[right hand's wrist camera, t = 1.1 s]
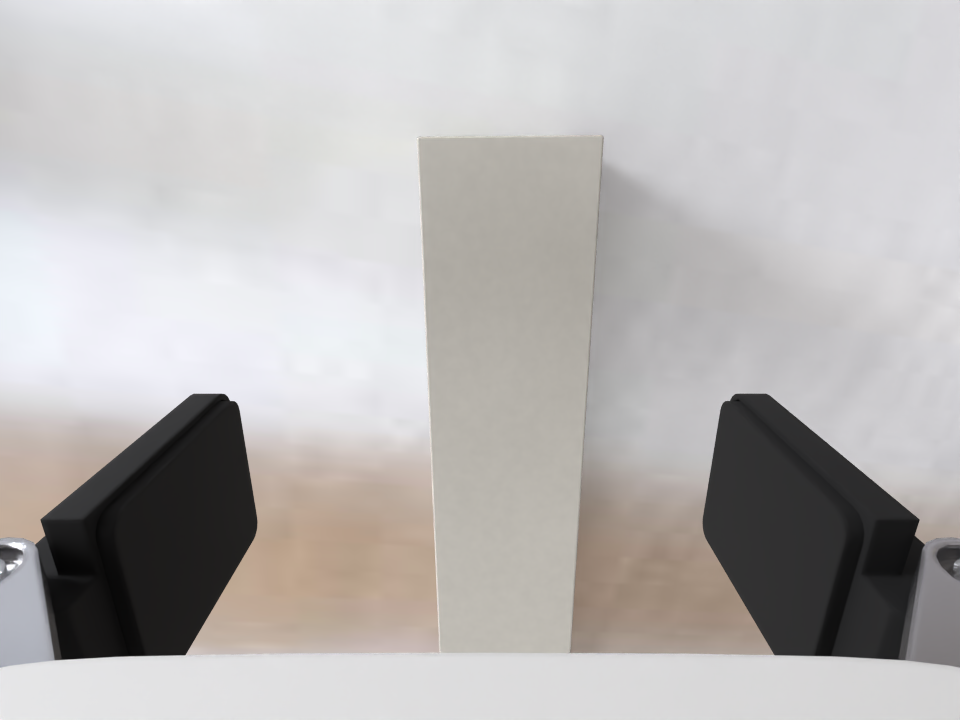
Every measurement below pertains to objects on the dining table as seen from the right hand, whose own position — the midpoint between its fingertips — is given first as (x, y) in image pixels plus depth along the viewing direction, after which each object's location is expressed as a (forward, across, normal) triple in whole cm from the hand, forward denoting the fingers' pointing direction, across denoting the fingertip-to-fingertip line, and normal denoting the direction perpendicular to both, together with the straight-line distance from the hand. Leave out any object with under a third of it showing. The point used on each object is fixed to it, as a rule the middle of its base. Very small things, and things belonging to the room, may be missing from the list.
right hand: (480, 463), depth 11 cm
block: (+15, +1, -24) cm, 28 cm away
